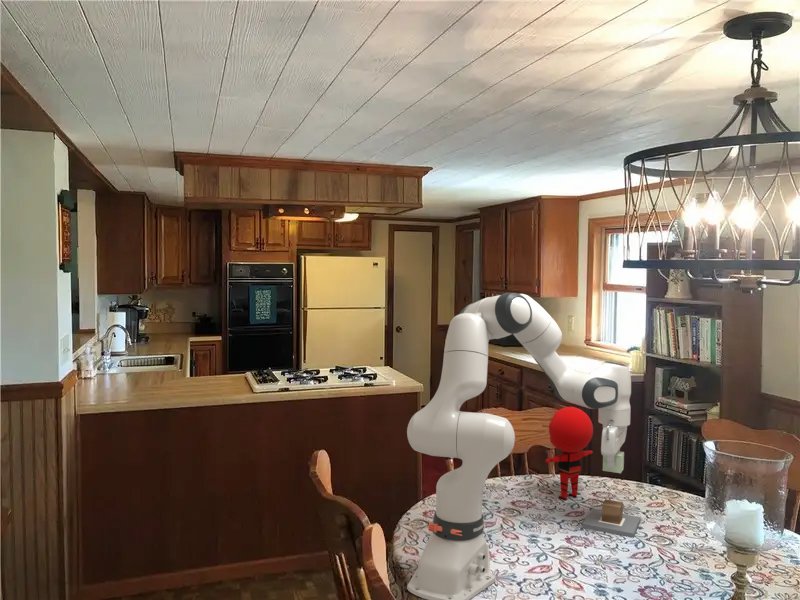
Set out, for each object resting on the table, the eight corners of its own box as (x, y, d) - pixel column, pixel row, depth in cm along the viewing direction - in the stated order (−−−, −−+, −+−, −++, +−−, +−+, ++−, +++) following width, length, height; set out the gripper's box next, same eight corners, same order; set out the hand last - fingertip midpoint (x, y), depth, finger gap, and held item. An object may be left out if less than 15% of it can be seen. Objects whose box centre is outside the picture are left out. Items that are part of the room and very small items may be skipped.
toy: (575, 487, 216) (577, 400, 215) (608, 498, 204) (610, 407, 203) (531, 498, 204) (532, 406, 203) (562, 511, 192) (565, 414, 192)
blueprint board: (633, 537, 173) (633, 533, 173) (582, 527, 180) (582, 523, 180) (640, 521, 185) (640, 516, 185) (592, 512, 192) (592, 508, 192)
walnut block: (619, 524, 179) (620, 507, 179) (601, 521, 181) (602, 504, 181) (622, 519, 183) (623, 502, 183) (604, 515, 186) (605, 499, 186)
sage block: (620, 473, 179) (621, 456, 178) (602, 470, 181) (603, 453, 181) (623, 468, 183) (624, 451, 183) (605, 466, 185) (606, 449, 185)
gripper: (619, 425, 171) (618, 475, 171) (630, 412, 189) (629, 457, 189) (596, 422, 174) (594, 472, 174) (609, 410, 192) (608, 454, 192)
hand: (613, 464), depth 182 cm, fingers closed on sage block, 5 cm apart
